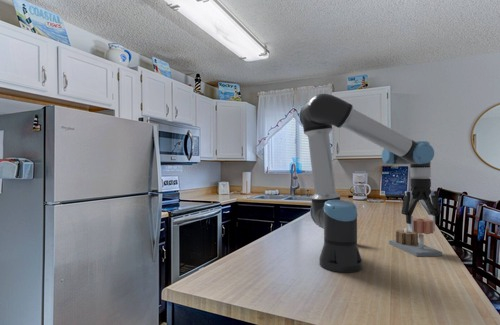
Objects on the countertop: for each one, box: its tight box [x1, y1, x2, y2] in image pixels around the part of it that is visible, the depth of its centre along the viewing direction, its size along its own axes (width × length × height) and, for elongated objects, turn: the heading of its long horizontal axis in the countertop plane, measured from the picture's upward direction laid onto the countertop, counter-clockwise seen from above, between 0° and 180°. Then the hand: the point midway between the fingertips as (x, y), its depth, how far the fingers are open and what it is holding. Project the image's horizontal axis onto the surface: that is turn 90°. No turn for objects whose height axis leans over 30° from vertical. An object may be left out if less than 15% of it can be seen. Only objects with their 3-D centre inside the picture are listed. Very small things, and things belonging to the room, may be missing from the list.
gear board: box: [388, 227, 443, 257], centre depth 130 cm, size 20×11×8 cm, turn 5°
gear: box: [413, 217, 435, 235], centre depth 126 cm, size 9×9×5 cm
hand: (421, 231), depth 126 cm, fingers closed on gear, 9 cm apart
